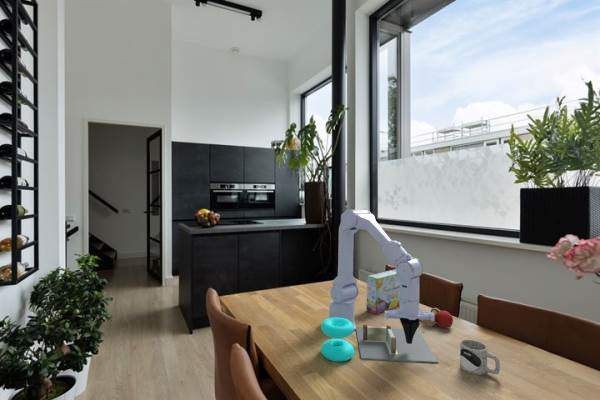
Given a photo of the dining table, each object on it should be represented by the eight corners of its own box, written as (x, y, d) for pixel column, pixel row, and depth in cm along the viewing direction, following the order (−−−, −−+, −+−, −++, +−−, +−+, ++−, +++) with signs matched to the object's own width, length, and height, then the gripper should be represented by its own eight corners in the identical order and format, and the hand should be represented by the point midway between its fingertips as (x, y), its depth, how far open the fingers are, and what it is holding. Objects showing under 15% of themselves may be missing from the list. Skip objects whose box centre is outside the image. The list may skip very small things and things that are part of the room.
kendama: (401, 322, 125) (447, 330, 112) (401, 305, 126) (446, 311, 113) (412, 320, 130) (457, 328, 117) (411, 304, 131) (456, 310, 118)
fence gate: (387, 341, 104) (387, 327, 104) (391, 341, 104) (391, 327, 104) (391, 353, 96) (391, 339, 96) (396, 353, 96) (396, 339, 96)
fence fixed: (363, 341, 105) (363, 326, 105) (362, 339, 107) (363, 324, 106) (391, 343, 104) (391, 327, 104) (390, 341, 106) (390, 325, 106)
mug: (455, 367, 90) (455, 343, 90) (466, 359, 94) (467, 337, 94) (494, 383, 82) (494, 358, 82) (504, 375, 86) (505, 350, 86)
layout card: (361, 359, 94) (361, 357, 94) (355, 328, 116) (355, 326, 116) (438, 363, 92) (438, 361, 92) (418, 330, 114) (418, 329, 114)
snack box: (376, 315, 128) (376, 278, 128) (365, 311, 133) (366, 275, 133) (406, 304, 142) (406, 270, 142) (395, 300, 146) (396, 268, 146)
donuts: (357, 328, 92) (323, 329, 91) (357, 363, 92) (323, 364, 91) (350, 315, 102) (319, 316, 101) (350, 346, 102) (319, 347, 101)
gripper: (387, 302, 94) (386, 347, 95) (438, 303, 93) (437, 349, 93) (383, 294, 102) (383, 336, 102) (430, 296, 100) (430, 338, 100)
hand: (408, 342), depth 98 cm, fingers closed
